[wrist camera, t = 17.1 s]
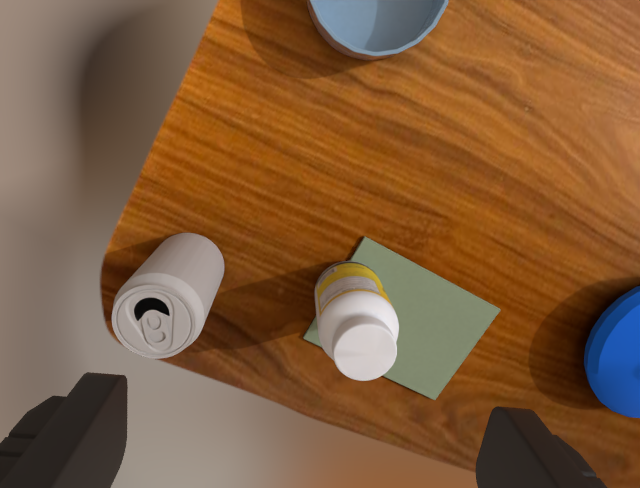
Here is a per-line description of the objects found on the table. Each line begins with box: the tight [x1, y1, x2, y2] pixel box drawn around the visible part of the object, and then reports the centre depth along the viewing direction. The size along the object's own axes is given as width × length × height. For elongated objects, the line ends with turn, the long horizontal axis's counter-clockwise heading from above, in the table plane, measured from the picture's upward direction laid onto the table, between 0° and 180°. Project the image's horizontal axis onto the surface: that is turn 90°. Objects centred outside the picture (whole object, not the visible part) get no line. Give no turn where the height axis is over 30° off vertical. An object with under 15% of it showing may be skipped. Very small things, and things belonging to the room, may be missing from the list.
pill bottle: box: [314, 261, 399, 381], centre depth 38 cm, size 6×6×12 cm
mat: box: [303, 236, 500, 400], centre depth 45 cm, size 16×12×1 cm
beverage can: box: [112, 233, 224, 359], centre depth 36 cm, size 6×6×12 cm
